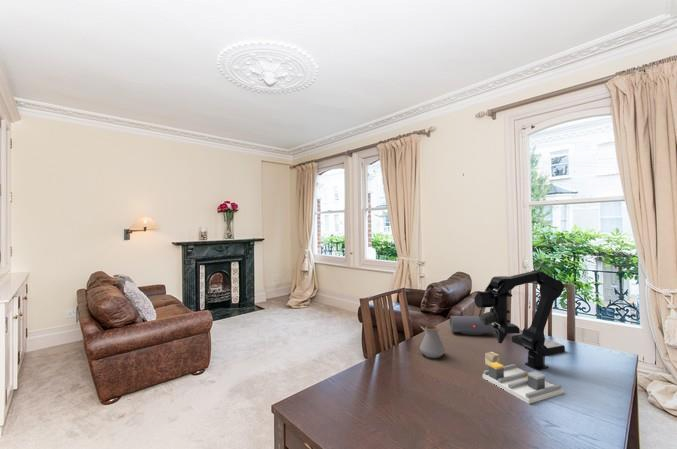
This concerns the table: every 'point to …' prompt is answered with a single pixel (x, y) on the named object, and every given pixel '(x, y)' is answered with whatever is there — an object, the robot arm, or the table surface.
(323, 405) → the table surface
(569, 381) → the table surface
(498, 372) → the block
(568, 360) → the table surface
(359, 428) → the table surface
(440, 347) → the coffee pot
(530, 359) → the robot arm
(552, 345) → the multimeter
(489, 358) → the block
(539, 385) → the untagged breaker
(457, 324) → the bluetooth speaker
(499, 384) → the breaker panel
